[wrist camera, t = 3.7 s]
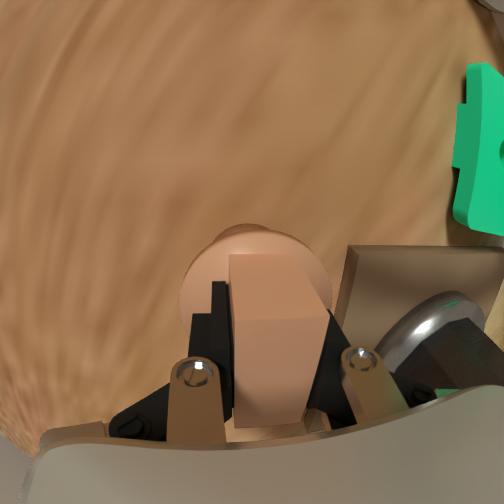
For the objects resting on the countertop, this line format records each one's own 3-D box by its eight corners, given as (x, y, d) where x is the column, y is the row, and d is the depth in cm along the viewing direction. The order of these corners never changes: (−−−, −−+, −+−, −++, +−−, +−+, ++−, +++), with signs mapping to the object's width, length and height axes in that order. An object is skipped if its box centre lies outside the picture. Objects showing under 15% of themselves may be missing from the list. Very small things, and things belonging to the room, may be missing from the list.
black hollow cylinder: (389, 298, 16) (482, 411, 7) (487, 284, 18) (560, 347, 8) (345, 410, 21) (382, 502, 12) (440, 382, 22) (483, 446, 13)
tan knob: (187, 204, 14) (147, 295, 6) (308, 206, 15) (399, 287, 7) (192, 309, 17) (181, 436, 8) (295, 307, 17) (344, 422, 9)
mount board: (348, 245, 16) (359, 255, 15) (501, 247, 18) (511, 253, 17) (303, 420, 23) (307, 432, 22) (440, 384, 25) (445, 392, 24)
